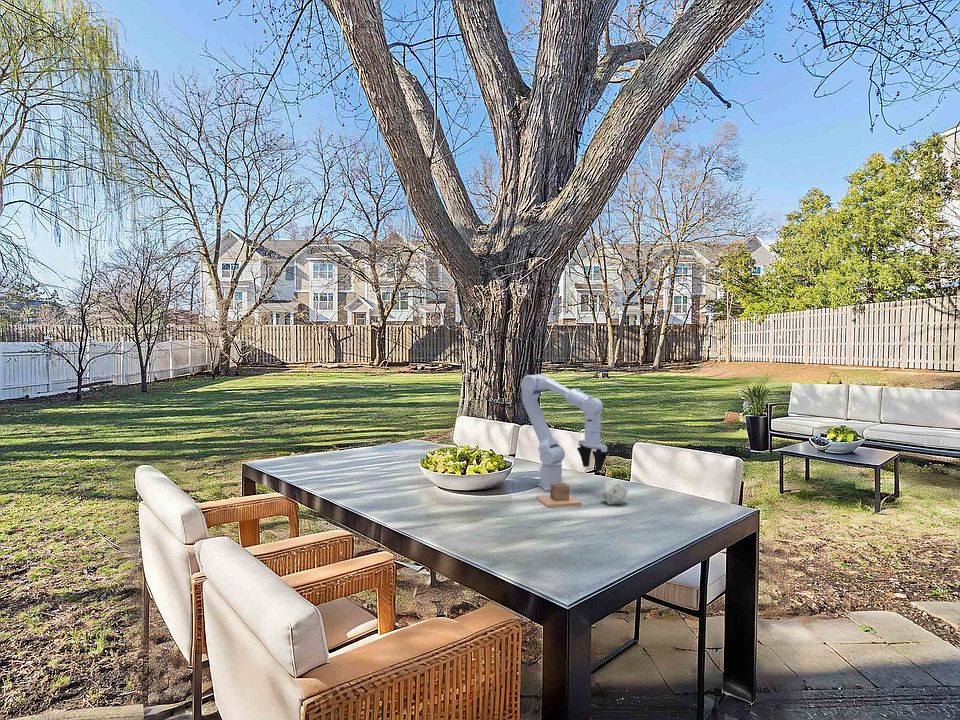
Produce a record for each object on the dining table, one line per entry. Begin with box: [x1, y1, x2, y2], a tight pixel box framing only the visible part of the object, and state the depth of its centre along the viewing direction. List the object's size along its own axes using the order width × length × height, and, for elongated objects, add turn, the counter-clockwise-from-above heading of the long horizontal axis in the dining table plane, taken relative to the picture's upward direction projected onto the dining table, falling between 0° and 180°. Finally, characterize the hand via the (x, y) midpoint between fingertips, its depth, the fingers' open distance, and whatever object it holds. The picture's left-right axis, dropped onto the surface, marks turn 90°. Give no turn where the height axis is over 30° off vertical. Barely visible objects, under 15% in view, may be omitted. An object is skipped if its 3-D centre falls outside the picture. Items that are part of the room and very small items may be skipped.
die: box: [599, 479, 628, 506], centre depth 200 cm, size 8×9×10 cm
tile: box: [535, 494, 582, 509], centre depth 201 cm, size 12×12×1 cm
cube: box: [549, 482, 570, 501], centre depth 201 cm, size 5×5×5 cm
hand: (592, 468), depth 212 cm, fingers open, 7 cm apart
